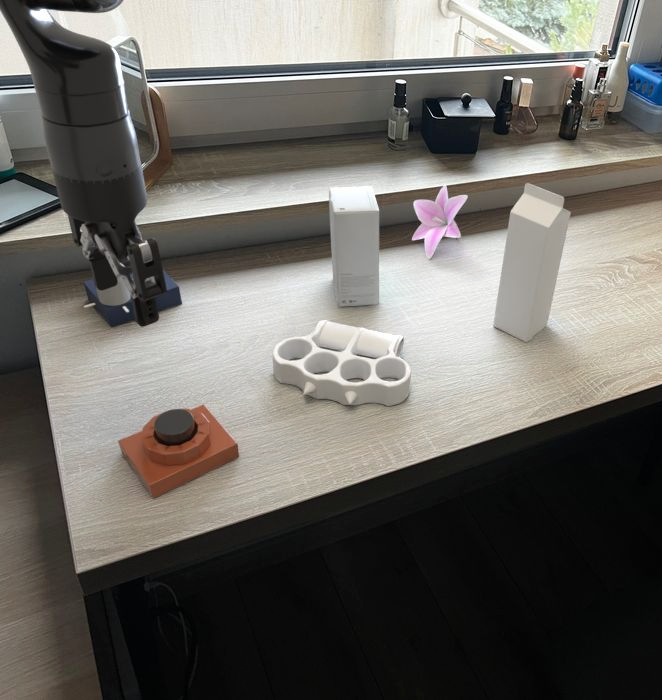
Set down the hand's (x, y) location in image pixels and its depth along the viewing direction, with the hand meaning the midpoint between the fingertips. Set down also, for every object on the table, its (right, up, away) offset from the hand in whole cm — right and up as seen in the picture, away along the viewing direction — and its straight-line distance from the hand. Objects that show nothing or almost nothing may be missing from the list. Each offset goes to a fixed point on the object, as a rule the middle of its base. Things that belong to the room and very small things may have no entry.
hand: (127, 304), depth 77 cm
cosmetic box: (+19, +4, +34) cm, 39 cm away
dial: (-12, +2, +21) cm, 24 cm away
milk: (+44, -1, +31) cm, 54 cm away
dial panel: (-11, +1, +25) cm, 27 cm away
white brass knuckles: (+20, -8, +19) cm, 29 cm away
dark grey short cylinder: (+4, -14, +2) cm, 15 cm away
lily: (+31, +13, +47) cm, 58 cm away
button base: (+4, -17, +5) cm, 18 cm away
